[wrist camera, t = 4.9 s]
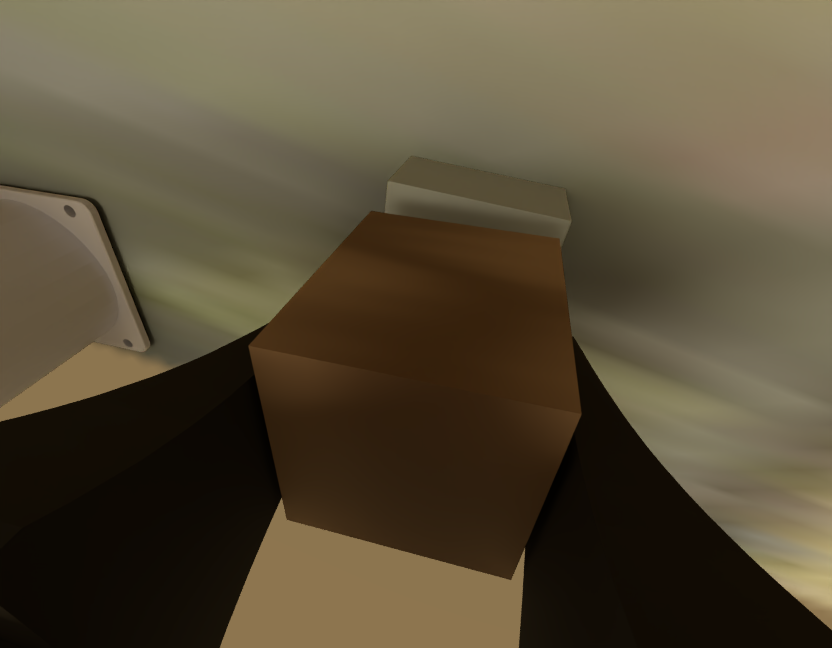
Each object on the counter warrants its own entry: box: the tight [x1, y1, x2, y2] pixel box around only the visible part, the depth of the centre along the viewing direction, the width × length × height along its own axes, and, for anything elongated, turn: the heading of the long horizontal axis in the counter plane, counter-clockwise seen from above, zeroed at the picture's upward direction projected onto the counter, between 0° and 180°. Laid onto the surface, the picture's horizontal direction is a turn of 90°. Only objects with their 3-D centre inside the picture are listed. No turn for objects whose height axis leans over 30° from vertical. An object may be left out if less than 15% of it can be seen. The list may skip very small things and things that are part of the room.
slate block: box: [385, 156, 572, 248], centre depth 14 cm, size 5×5×3 cm
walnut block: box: [248, 211, 581, 580], centre depth 9 cm, size 4×4×6 cm
